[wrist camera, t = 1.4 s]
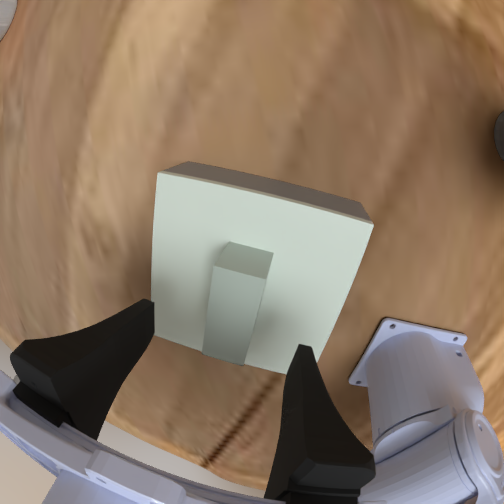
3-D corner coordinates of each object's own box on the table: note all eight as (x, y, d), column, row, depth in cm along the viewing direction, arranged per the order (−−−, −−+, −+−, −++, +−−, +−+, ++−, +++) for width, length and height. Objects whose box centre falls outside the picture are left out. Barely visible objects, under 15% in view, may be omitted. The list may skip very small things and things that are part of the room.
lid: (370, 219, 15) (386, 247, 12) (309, 369, 21) (306, 411, 17) (165, 169, 16) (128, 183, 13) (157, 326, 22) (133, 360, 18)
